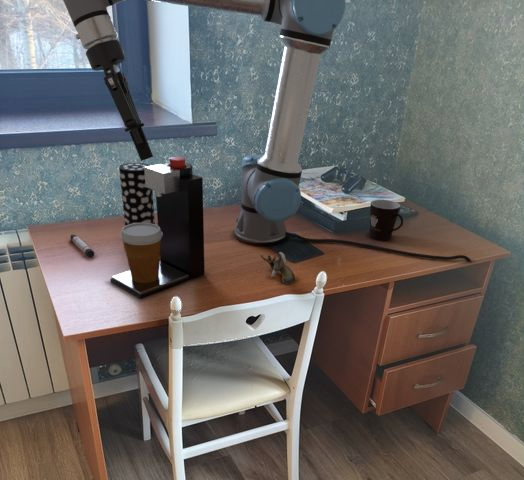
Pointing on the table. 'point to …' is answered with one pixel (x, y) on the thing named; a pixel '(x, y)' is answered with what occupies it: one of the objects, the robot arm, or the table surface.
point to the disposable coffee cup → (142, 250)
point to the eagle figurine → (281, 268)
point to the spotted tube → (136, 194)
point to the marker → (82, 245)
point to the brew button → (177, 162)
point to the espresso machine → (169, 277)
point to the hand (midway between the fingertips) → (147, 158)
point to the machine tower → (183, 225)
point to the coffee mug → (383, 219)
